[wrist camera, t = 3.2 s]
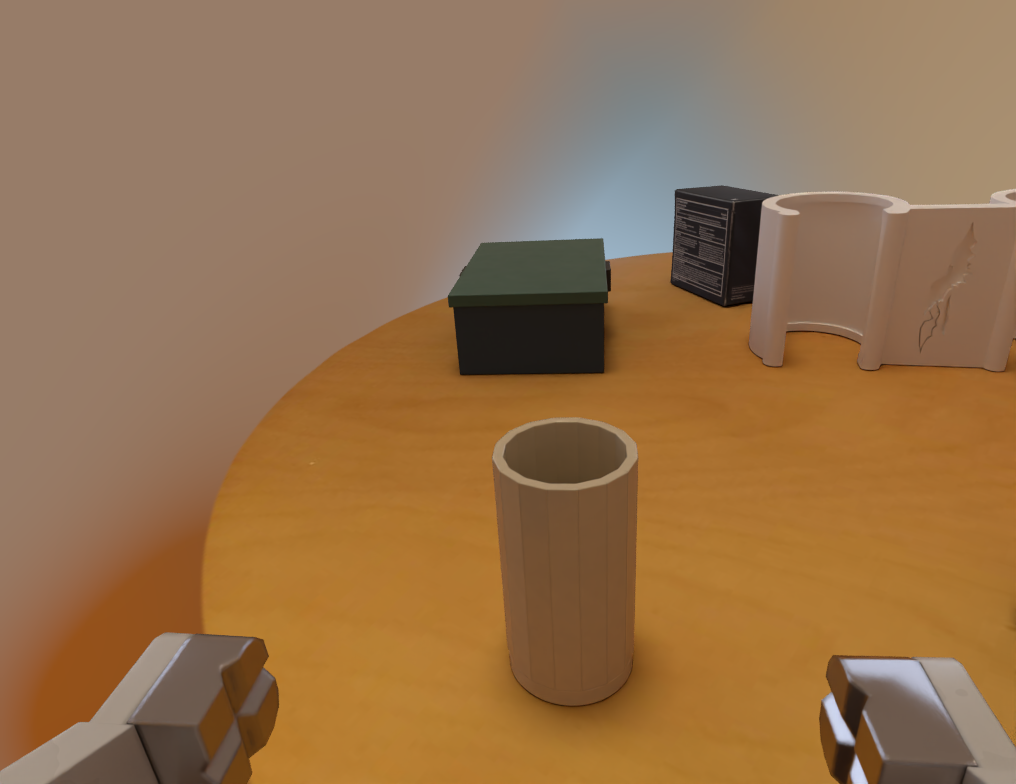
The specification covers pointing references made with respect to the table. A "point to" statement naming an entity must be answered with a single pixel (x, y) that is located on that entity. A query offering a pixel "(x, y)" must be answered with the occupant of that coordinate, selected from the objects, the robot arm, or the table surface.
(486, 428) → the table surface
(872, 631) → the table surface
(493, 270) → the box
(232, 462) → the table surface
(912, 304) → the bracket
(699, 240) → the small box
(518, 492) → the cup
